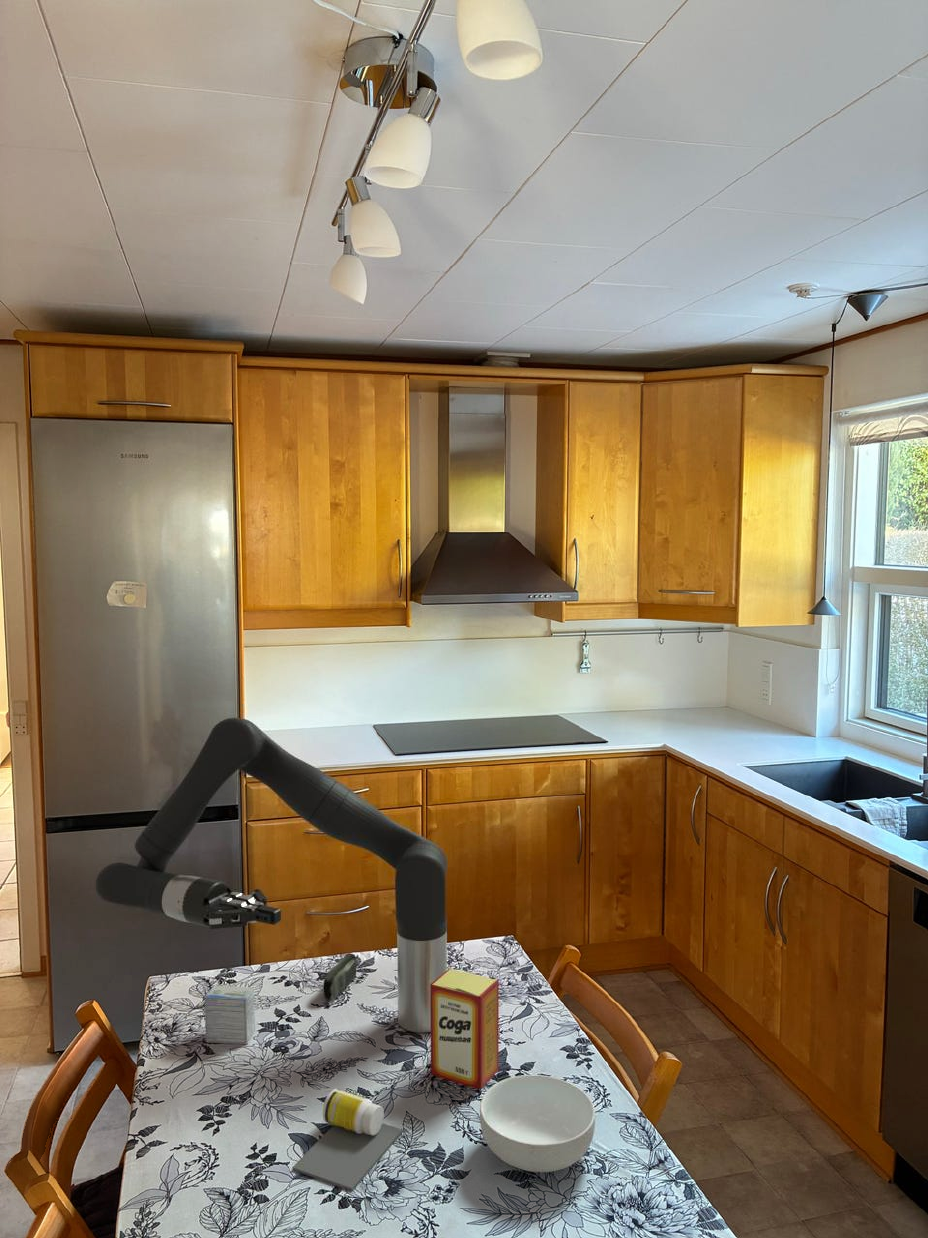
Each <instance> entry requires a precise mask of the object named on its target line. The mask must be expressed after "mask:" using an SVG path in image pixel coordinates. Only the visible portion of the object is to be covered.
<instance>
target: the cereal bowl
mask: <svg viewBox="0 0 928 1238" xmlns="http://www.w3.org/2000/svg"><path fill="white" fill-rule="evenodd" d="M479 1107H480V1108H479V1120H480V1121H479V1122H480V1128H481V1133H482V1136H483V1139H484V1141H485V1142H486V1144H487V1146H488V1147H489V1148H490V1150H491V1151H492V1152H493V1154H495V1155H496V1156H497V1158H499V1159H500V1160H502V1161H503V1162H505V1164H508V1165H510V1166H512V1167H514V1168H517V1169H519V1170H523V1171H526V1172H531V1173H532V1172H533V1173H551V1172H557V1171H560V1170H564V1169H566V1168H568V1167H570V1166H572V1165H574V1164H575V1163H576V1162H578V1161H579V1160H580V1159H582V1157H583V1156H584V1155H585V1154H586V1152H587V1151H588V1149H590V1146H591V1143H592V1141H593V1138H594V1134H595V1127H596V1125H595V1124H596V1109H595V1106H594V1102H593V1101H592V1099H591V1098H590V1097H589V1095H588V1094H587V1093H586V1092H585V1091H584V1090H582V1089H581V1088H580V1087H578V1086H576V1085H574V1084H573V1083H571V1082H570V1081H569V1082H568V1081H566V1080H565V1079H564V1080H563V1079H560V1078H557V1077H553V1076H548V1075H541V1074H523V1075H522V1074H521V1075H517V1076H511V1077H508V1078H505V1079H502V1080H500V1081H498V1082H496V1083H494V1085H492V1086H490V1088H488V1089H487V1090H486V1091H485V1092H484V1095H483V1096H482V1098H481V1102H480V1106H479Z"/></svg>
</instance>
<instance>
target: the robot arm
mask: <svg viewBox="0 0 928 1238" xmlns="http://www.w3.org/2000/svg"><path fill="white" fill-rule="evenodd" d="M208 735H209V736H208V737H207V738H206V741H205V742H204V744H203V746H202V748H201V750H200V752H199V754H198V755H197V757H196V759H195V761H194V763H193V764H192V766H191V767H190V768H189V770H188V772H187V774H186V775H185V776H184V778H183V779H182V781H181V782H180V784H179V785H178V786H177V787H176V789H175V790H174V791H173V792H172V794H171V795H170V796H169V797H168V799H167V800H166V801H165V802H164V803H163V805H161V808H159V810H158V811H157V813H156V814H155V815H154V816H153V817H152V819H151V820H150V821H149V823H148V824H147V825H146V826H145V828H144V829H143V831H141V832H140V834H139V836H138V837H137V839H136V841H135V843H134V849H135V851H136V853H137V854H138V855H139V856H140V859H139V860H138V863H137V865H134V864H129V863H125V862H113V863H111V864H108V865H106V866H104V867H103V868H102V869H101V870H100V872H99V873H98V874H97V876H96V878H95V882H94V884H95V891H96V894H97V895H98V897H99V898H100V899H101V900H102V901H104V902H106V903H108V904H112V905H115V906H120V907H123V908H126V909H127V908H128V909H138V908H139V909H141V910H145V911H148V912H150V913H154V914H157V915H160V916H166V917H169V918H173V919H175V920H177V921H181V922H186V923H191V924H193V925H199V926H204V927H207V928H209V929H211V930H217V929H227V928H229V929H230V928H240V927H246V926H248V924H249V923H250V924H255V923H263V924H266V925H267V924H268V925H273V926H274V925H277V924H278V923H279V922H282V911H281V909H280V908H277V907H272V906H268V898H267V897H266V896H265V894H264V893H263V891H262V890H261V889H259V888H255V889H253V891H252V893H251V894H247V895H246V894H245V893H243V892H240V891H239V892H237V891H232V890H231V888H230V887H229V886H228V884H227V883H225V882H224V881H220V880H216V879H211V878H210V879H209V878H205V877H200V876H194V875H181V874H176V873H172V872H166V870H167V867H168V865H169V863H170V861H171V859H172V858H173V856H174V855H175V854H176V852H177V851H178V850H179V848H180V847H181V846H182V844H183V843H184V842H185V840H186V839H187V838H188V836H190V834H191V832H192V830H194V828H195V826H196V825H197V822H199V820H200V818H201V817H202V815H203V813H204V811H205V809H207V806H208V804H209V803H210V802H211V800H212V799H213V798H214V796H215V795H216V793H217V792H218V791H219V790H220V789H221V787H222V786H223V785H224V784H225V783H226V782H227V781H228V779H230V778H231V777H232V776H233V775H234V774H235V773H236V772H237V771H238V770H239V771H240V772H243V773H245V774H247V775H249V776H250V777H251V778H254V779H256V780H257V781H259V782H260V783H262V784H264V785H265V786H267V787H268V788H269V789H270V790H272V792H273V793H274V794H276V795H277V796H278V797H279V798H280V799H281V800H282V801H283V803H284V804H286V805H287V806H288V807H289V808H290V809H291V810H292V811H294V812H295V813H296V815H298V816H299V817H301V819H303V820H304V821H306V822H307V823H308V824H310V825H311V826H313V827H314V828H316V829H318V830H319V831H320V832H322V833H323V834H325V835H327V836H328V837H330V838H332V839H335V840H337V841H339V842H343V843H345V844H349V845H352V846H355V847H357V848H361V849H364V850H367V851H368V852H371V853H373V854H374V855H376V856H378V857H379V858H380V859H381V860H383V861H384V862H386V863H387V864H388V865H389V866H391V867H392V868H393V869H395V875H394V876H395V877H394V892H395V894H394V895H395V897H394V899H395V901H394V903H395V904H394V905H395V919H396V926H397V927H396V930H397V931H396V934H397V935H396V936H397V937H396V938H397V939H396V941H397V943H396V944H397V946H396V947H397V1022H398V1025H399V1026H400V1027H401V1028H402V1029H404V1030H406V1031H409V1032H413V1033H431V1013H430V984H431V983H432V982H434V981H435V980H436V979H437V978H438V977H440V976H441V975H442V974H443V973H445V972H446V971H447V970H448V961H447V960H448V957H447V955H448V953H447V952H448V944H447V943H448V942H447V937H448V933H447V932H448V930H447V929H448V927H447V926H448V925H447V923H448V919H447V913H446V911H447V910H446V909H447V908H446V907H447V906H446V905H447V904H446V903H447V901H446V899H447V898H446V896H447V892H446V891H447V890H446V888H447V884H446V883H447V881H446V880H447V878H446V877H447V873H448V872H447V871H448V859H447V856H446V854H445V852H444V851H443V849H441V847H439V845H437V844H436V843H434V842H433V841H432V840H429V839H428V838H425V837H423V836H422V835H420V834H419V833H416V832H414V831H412V830H411V829H408V828H407V827H405V826H403V825H401V824H400V823H398V822H396V821H394V820H393V819H391V818H390V817H388V816H387V815H386V814H385V813H383V812H382V811H381V810H379V808H377V807H376V806H374V805H373V804H371V803H370V802H368V800H365V799H364V798H363V797H361V796H360V795H358V794H357V793H356V792H354V791H353V790H352V789H351V788H349V787H347V786H346V785H344V784H343V783H341V782H340V781H339V780H337V779H335V778H334V777H332V776H331V775H328V774H327V773H326V772H323V771H322V770H320V769H319V768H316V767H315V766H313V765H311V764H309V763H308V762H306V761H304V760H301V759H299V758H298V757H296V756H294V755H293V754H291V753H289V752H288V751H287V750H286V749H284V748H283V747H282V746H280V745H279V744H278V743H276V742H275V741H274V740H273V739H272V738H271V737H269V736H268V735H267V734H266V733H265V732H264V731H263V730H261V728H260V727H258V726H257V724H255V723H254V722H253V721H250V720H249V719H245V718H242V717H241V718H240V717H229V718H224V719H223V720H220V721H219V722H218V723H217V724H215V725H214V726H213V728H212V729H211V731H210V733H209V734H208Z"/></svg>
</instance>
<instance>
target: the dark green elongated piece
mask: <svg viewBox="0 0 928 1238" xmlns="http://www.w3.org/2000/svg"><path fill="white" fill-rule="evenodd" d="M356 976H357V956H356V955H355V954H353V953H351V952H350V953H346V954H345V955H344V956H343V957H342V958H341V959H340V960H339V961H338V963H337V964H336V965H334V966H333V967H332V968H331V969H329V970H328V972H327V973H326V975H325V977H324V981H323V998H324V1000H325V1001H328V1003H327V1004H326V1006H327V1008H330V1007H331V1006H332V1004H333V1002H335V1000H336V999H337V998H338V997H339V996H340V995H341V994H342V993H343V992H344V990H345V989H346V988H347V987H348V986H349V985H350V984H351V982H352V981H353V980H354V979H355V977H356Z"/></svg>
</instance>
